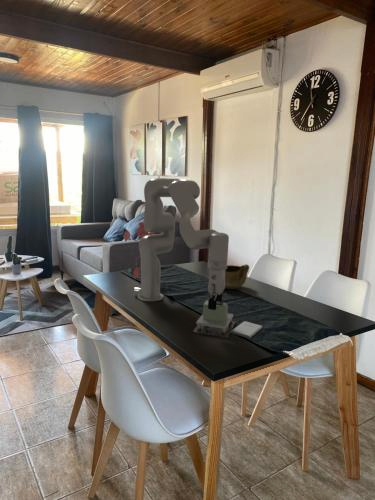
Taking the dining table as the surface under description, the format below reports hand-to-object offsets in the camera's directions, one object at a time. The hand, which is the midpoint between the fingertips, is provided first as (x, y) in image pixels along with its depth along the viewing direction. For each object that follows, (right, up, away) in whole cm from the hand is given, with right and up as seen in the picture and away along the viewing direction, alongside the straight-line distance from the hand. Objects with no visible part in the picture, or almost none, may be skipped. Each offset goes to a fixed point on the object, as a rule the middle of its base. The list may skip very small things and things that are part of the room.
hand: (214, 305), depth 149 cm
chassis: (0, -9, +1) cm, 9 cm away
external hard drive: (+13, -11, -1) cm, 17 cm away
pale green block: (0, -5, +1) cm, 5 cm away
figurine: (-35, +5, +69) cm, 78 cm away
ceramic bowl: (+13, +1, +56) cm, 58 cm away
